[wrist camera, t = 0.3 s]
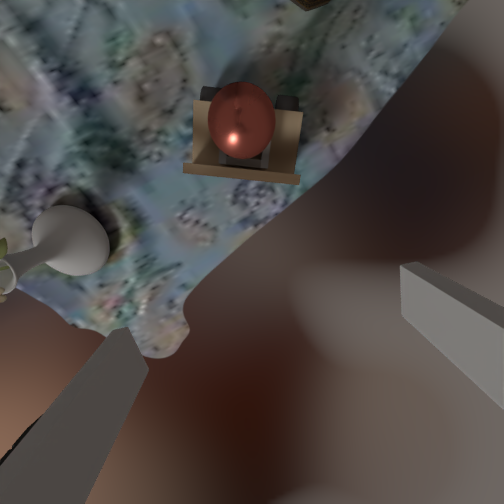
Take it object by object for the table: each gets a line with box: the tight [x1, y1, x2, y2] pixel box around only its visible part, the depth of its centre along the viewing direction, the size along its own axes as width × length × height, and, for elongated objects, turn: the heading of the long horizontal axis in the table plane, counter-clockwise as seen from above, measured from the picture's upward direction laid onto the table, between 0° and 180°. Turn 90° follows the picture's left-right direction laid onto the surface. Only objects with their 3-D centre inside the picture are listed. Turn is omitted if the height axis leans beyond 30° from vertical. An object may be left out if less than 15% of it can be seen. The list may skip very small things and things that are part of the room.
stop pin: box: [208, 82, 276, 159], centre depth 21 cm, size 5×5×11 cm
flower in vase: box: [0, 205, 110, 303], centre depth 26 cm, size 13×11×25 cm
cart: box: [183, 86, 303, 185], centre depth 28 cm, size 10×12×12 cm
